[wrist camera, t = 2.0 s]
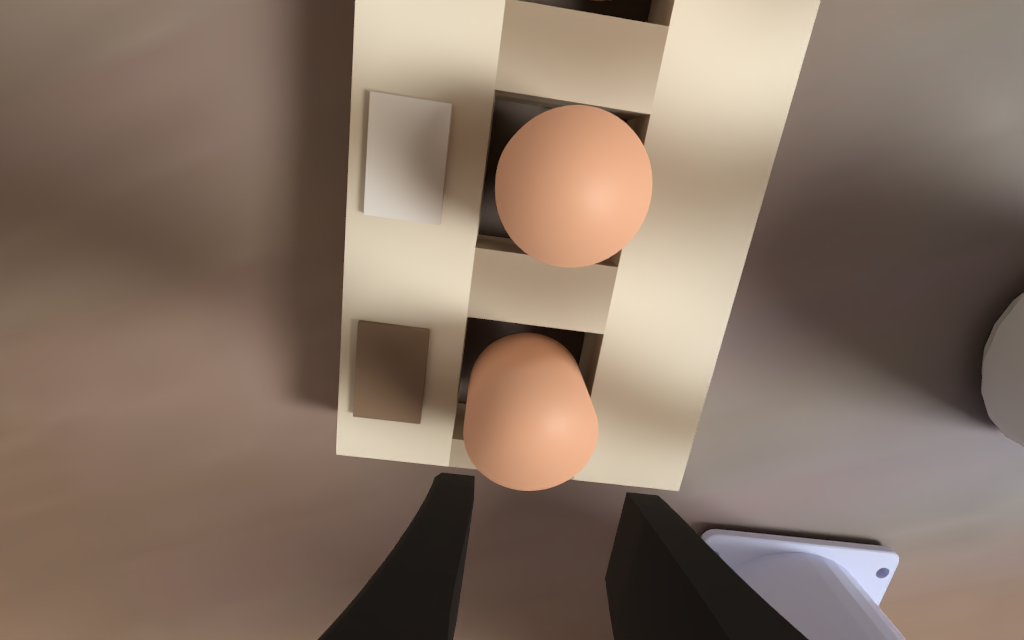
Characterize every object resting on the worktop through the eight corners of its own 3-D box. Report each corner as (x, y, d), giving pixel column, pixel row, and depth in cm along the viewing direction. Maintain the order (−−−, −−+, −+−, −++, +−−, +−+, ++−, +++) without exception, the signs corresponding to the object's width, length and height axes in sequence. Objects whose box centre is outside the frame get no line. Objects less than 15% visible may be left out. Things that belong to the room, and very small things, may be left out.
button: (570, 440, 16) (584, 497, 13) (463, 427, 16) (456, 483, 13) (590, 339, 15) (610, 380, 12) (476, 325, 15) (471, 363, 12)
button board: (656, 450, 19) (680, 495, 16) (356, 416, 18) (334, 458, 16) (814, -144, 13) (886, -211, 11) (392, -228, 13) (366, -322, 10)
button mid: (608, 253, 14) (633, 276, 12) (488, 237, 14) (485, 257, 11) (634, 125, 13) (669, 118, 11) (504, 104, 13) (506, 92, 10)
